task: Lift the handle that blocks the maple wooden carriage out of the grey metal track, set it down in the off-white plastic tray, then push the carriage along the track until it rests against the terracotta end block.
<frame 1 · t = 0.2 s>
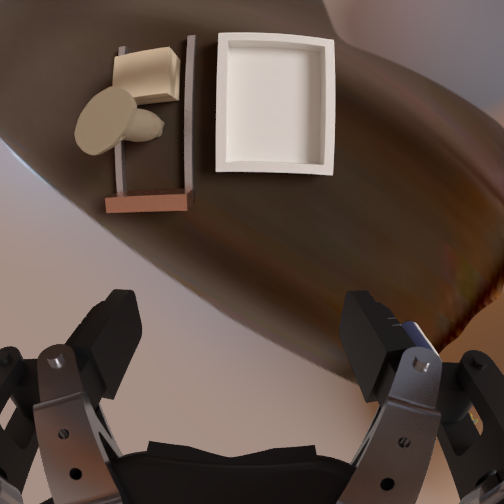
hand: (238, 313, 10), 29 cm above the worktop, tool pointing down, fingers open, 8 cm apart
carriage: (147, 78, 28), point 3 cm above the worktop, slide at 0.0 cm
track: (154, 119, 33), on the worktop
water bottle: (403, 335, 47), on the worktop
handle: (154, 127, 34), resting in track
tray: (274, 102, 33), on the worktop
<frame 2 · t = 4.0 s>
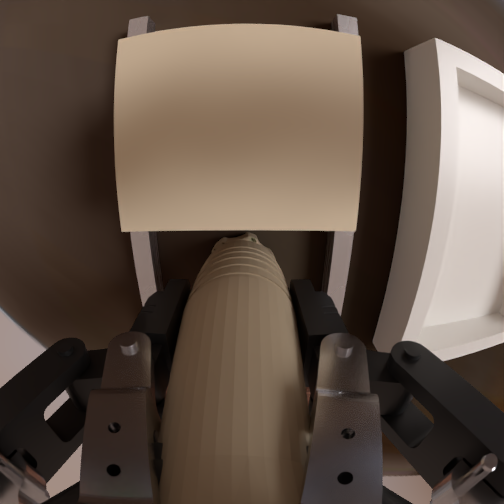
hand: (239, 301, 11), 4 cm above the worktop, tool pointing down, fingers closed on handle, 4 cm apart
carriage: (239, 128, 10), point 3 cm above the worktop, slide at 0.0 cm
track: (241, 237, 15), on the worktop
handle: (241, 257, 15), resting in track, touching gripper
tray: (480, 216, 14), on the worktop
when the fingers open (7 cm above the worktop, at t = 11.4 s): handle drops 2 cm, resting on tray.
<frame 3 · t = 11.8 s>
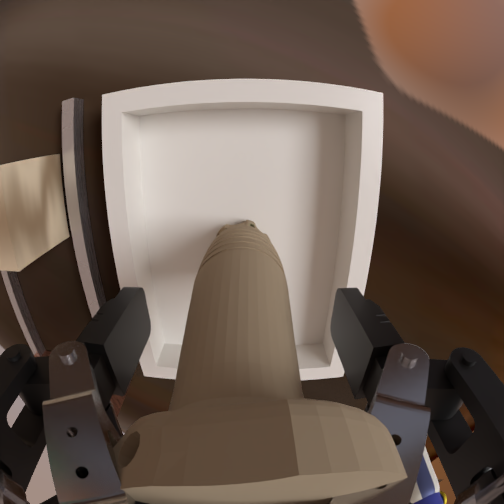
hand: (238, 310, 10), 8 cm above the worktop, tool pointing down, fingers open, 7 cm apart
carriage: (6, 210, 13), point 3 cm above the worktop, slide at 0.0 cm
track: (45, 263, 18), on the worktop
water bottle: (406, 455, 32), on the worktop
handle: (241, 242, 17), resting on tray
tray: (242, 240, 18), on the worktop
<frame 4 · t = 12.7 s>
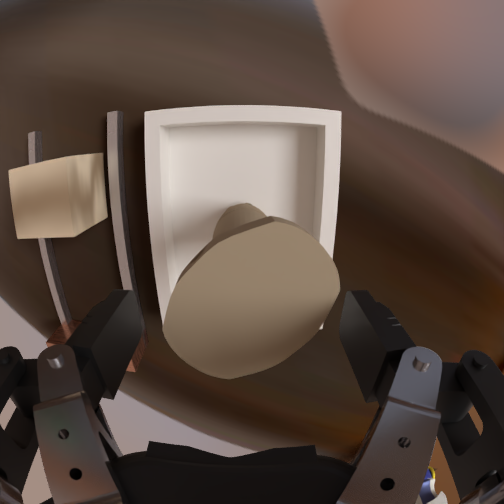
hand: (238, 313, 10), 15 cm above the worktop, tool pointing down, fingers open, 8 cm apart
carriage: (57, 194, 20), point 3 cm above the worktop, slide at 0.0 cm
track: (83, 240, 25), on the worktop
water bottle: (394, 432, 38), on the worktop
handle: (242, 220, 24), resting on tray
tray: (242, 219, 24), on the worktop
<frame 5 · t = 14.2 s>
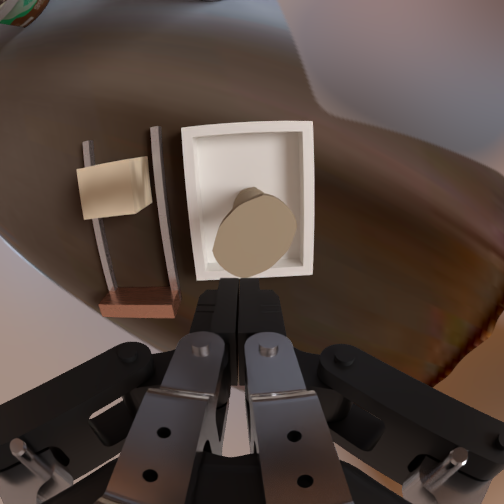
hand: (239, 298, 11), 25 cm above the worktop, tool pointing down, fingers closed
food container: (43, 1, 20), on the worktop
carriage: (115, 186, 30), point 3 cm above the worktop, slide at 0.0 cm
track: (131, 221, 35), on the worktop
handle: (250, 199, 34), resting on tray
tray: (250, 198, 34), on the worktop
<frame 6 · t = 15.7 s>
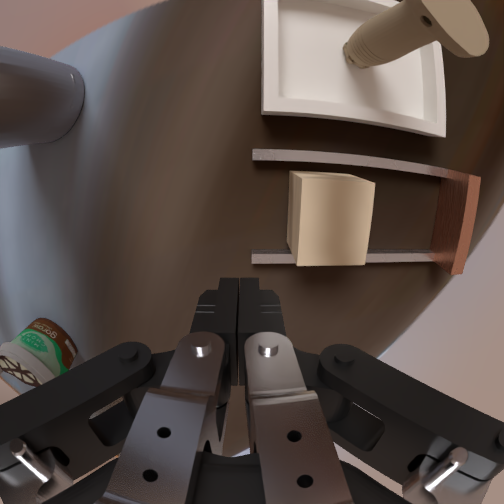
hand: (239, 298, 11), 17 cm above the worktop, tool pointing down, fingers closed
food container: (49, 328, 33), on the worktop
carriage: (326, 215, 24), point 3 cm above the worktop, slide at 0.0 cm
track: (366, 208, 27), on the worktop
handle: (355, 55, 21), resting on tray
tray: (354, 56, 21), on the worktop
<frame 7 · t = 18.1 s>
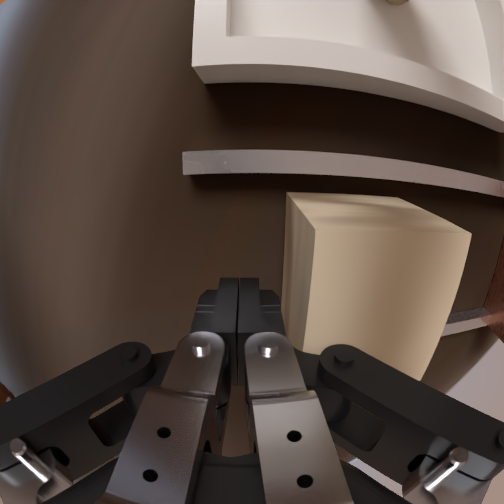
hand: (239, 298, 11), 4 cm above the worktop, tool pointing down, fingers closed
carriage: (359, 287, 12), point 3 cm above the worktop, slide at 1.1 cm, touching gripper
track: (404, 257, 15), on the worktop
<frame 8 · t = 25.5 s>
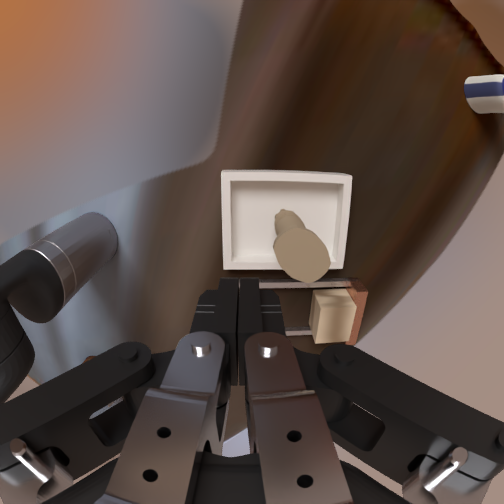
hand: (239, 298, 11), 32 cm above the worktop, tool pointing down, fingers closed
carriage: (331, 315, 46), point 3 cm above the worktop, slide at 12.0 cm
track: (290, 306, 49), on the worktop
water bottle: (475, 94, 34), on the worktop
handle: (284, 218, 43), resting on tray
tray: (284, 217, 43), on the worktop
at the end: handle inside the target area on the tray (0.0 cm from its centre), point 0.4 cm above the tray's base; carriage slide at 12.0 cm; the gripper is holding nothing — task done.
